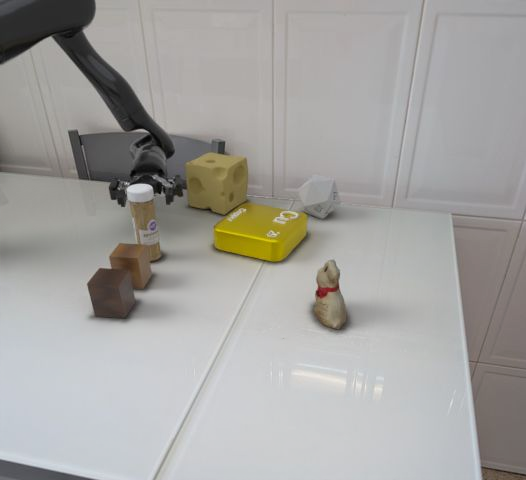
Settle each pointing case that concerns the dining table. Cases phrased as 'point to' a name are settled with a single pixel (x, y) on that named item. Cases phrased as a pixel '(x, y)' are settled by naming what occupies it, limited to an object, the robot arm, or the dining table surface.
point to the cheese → (217, 182)
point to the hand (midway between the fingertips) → (145, 201)
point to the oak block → (133, 262)
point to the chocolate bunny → (329, 296)
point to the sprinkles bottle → (144, 218)
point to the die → (319, 196)
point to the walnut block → (111, 293)
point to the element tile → (260, 231)
